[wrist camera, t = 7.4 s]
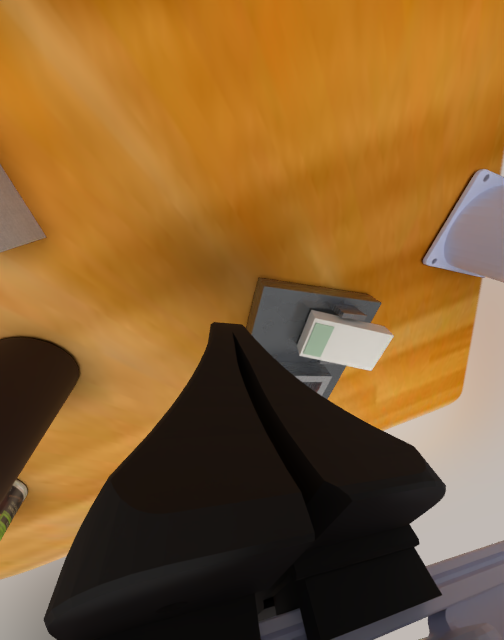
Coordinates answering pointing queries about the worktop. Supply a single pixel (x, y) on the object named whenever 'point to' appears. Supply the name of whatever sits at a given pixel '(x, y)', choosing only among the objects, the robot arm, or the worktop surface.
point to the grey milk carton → (15, 217)
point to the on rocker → (343, 340)
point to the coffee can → (11, 505)
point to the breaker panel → (302, 325)
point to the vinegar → (29, 399)
